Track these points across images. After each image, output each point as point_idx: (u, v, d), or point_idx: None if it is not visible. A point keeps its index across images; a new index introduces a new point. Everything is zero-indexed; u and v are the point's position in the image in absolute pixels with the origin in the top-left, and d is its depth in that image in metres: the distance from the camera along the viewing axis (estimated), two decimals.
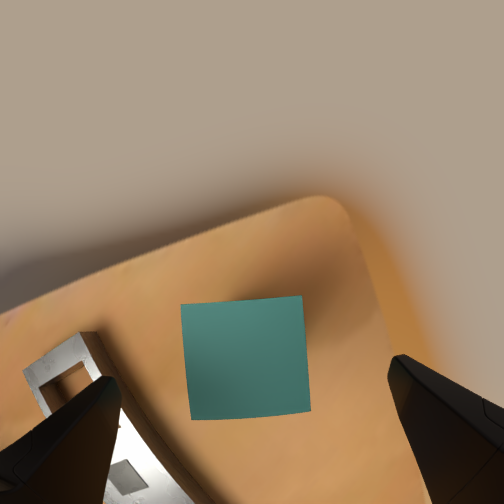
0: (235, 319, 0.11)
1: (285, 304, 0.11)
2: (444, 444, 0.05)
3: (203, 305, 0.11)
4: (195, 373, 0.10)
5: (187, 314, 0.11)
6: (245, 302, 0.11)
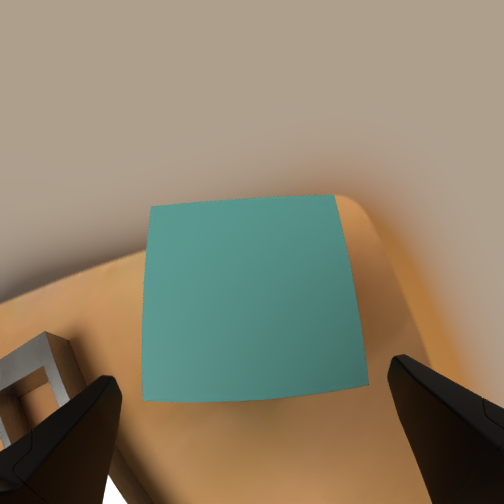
0: (232, 224, 0.07)
1: (310, 204, 0.07)
2: (444, 444, 0.05)
3: (184, 207, 0.07)
4: (158, 311, 0.06)
5: (159, 218, 0.07)
6: (249, 201, 0.07)
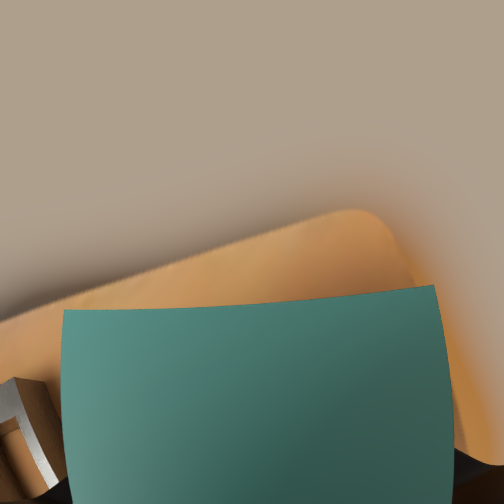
0: (228, 370, 0.03)
1: (394, 312, 0.03)
2: None
3: (125, 317, 0.03)
4: None
5: (77, 341, 0.03)
6: (265, 311, 0.03)
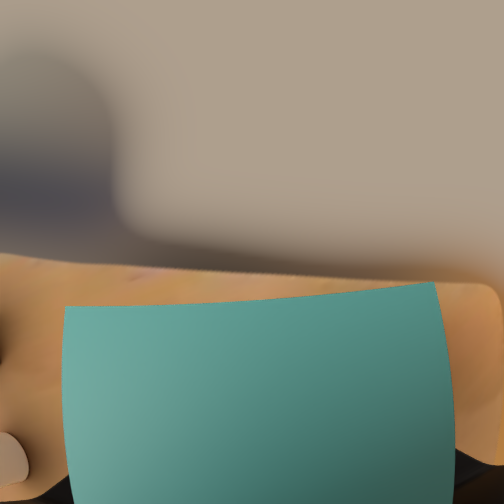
0: (229, 367, 0.03)
1: (395, 310, 0.03)
2: None
3: (127, 314, 0.03)
4: None
5: (78, 338, 0.03)
6: (266, 307, 0.03)
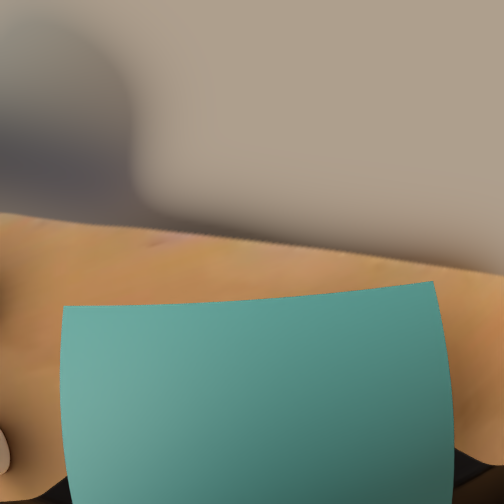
0: (227, 366, 0.03)
1: (393, 310, 0.03)
2: None
3: (125, 313, 0.03)
4: None
5: (76, 337, 0.03)
6: (264, 306, 0.03)
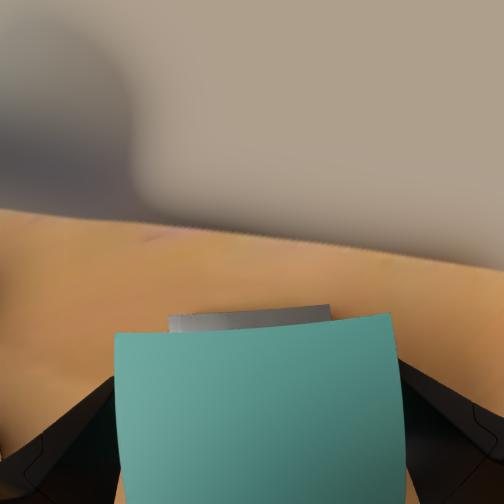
0: (239, 374, 0.04)
1: (357, 334, 0.04)
2: (433, 449, 0.05)
3: (164, 338, 0.04)
4: (144, 488, 0.03)
5: (127, 356, 0.04)
6: (264, 332, 0.04)
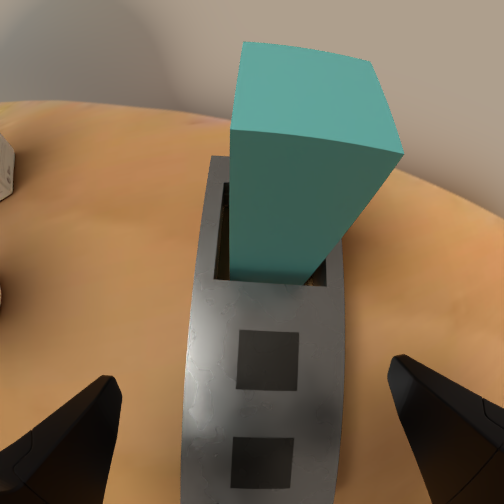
0: (303, 57, 0.08)
1: (355, 61, 0.08)
2: (444, 444, 0.05)
3: (268, 45, 0.08)
4: (249, 84, 0.07)
5: (250, 46, 0.08)
6: (314, 50, 0.08)
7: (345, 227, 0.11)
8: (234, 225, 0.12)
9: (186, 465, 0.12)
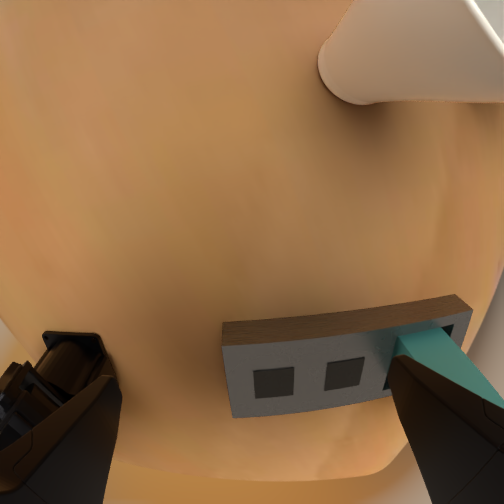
0: None
1: None
2: (444, 444, 0.05)
3: None
4: None
5: None
6: None
7: None
8: None
9: (267, 346, 0.20)
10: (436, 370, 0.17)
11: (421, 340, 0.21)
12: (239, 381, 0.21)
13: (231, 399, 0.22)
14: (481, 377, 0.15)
